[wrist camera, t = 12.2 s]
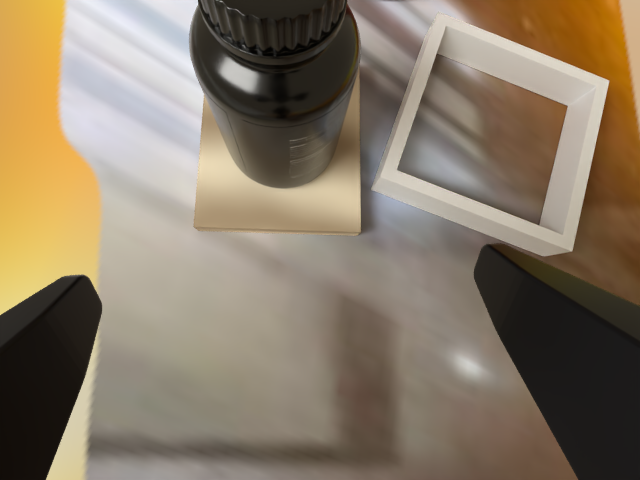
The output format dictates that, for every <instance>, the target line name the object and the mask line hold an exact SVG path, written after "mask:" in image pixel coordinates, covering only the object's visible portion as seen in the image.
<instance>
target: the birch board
mask: <svg viewBox="0 0 640 480" xmlns="http://www.w3.org/2000/svg"><path fill="white" fill-rule="evenodd" d="M194 227H195V228H196V229H197V230H198V231H220V232H253V233H285V234H317V235H350V236H357V235H358V234H359V233H360V232H361V207H360V80H359V69H358V73H357V77H356V80H355V84H354V88H353V91H352V95H351V98H350V102H349V105H348V109H347V113H346V116H345V120H344V123H343V127H342V130H341V134H340V137H339V141H338V145H337V148H336V151H335V154H334V156H333V158H332V160H331V162H330V164H329V165H328V167H327V168H326V169H325V171H324V172H323V173H322V174H321V175H319V176H318V177H317V178H316V179H314V180H312V181H311V182H309V183H307V184H304V185H302V186H299V187H294V188H288V189H279V188H271V187H267V186H264V185H261V184H259V183H257V182H255V181H253V180H252V179H250V178H249V177H247V176H246V175H245V174H244V173H243V172H242V171H241V170H240V169H239V168H238V167H237V165H236V164H235V162H234V161H233V159H232V157H231V155H230V153H229V151H228V149H227V147H226V144H225V142H224V140H223V137H222V135H221V133H220V130H219V128H218V125H217V123H216V121H215V118H214V116H213V114H212V111H211V109H210V107H209V104H208V102H207V100H206V97H205V95H204V103H203V115H202V128H201V140H200V153H199V165H198V178H197V191H196V203H195V216H194Z"/></svg>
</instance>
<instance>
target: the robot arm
mask: <svg viewBox="0 0 640 480" xmlns="http://www.w3.org/2000/svg"><path fill="white" fill-rule="evenodd" d="M474 279H475V282H476V284H477V287H478V289H479V291H480V294H481V296H482V298H483V301H484V303H485V306H486V308H487V310H488V313H489V315H490V317H491V320H492V322H493V324H494V327H495V329H496V331H497V333H498V335H499V337H500V339H501V341H502V343H503V345H504V346H505V348H506V350H507V352H508V354H509V355H510V357H511V359H512V361H513V363H514V364H515V366H516V368H517V370H518V372H519V373H520V375H521V377H522V379H523V381H524V382H525V384H526V386H527V388H528V390H529V391H530V393H531V395H532V397H533V399H534V400H535V402H536V404H537V406H538V408H539V410H540V411H541V413H542V415H543V417H544V419H545V420H546V422H547V424H548V426H549V428H550V429H551V431H552V433H553V435H554V437H555V438H556V440H557V442H558V444H559V446H560V447H561V449H562V451H563V453H564V455H565V456H566V458H567V460H568V462H569V464H570V465H571V467H572V469H573V471H574V473H575V474H576V476H577V478H578V480H640V306H638V305H636V304H634V303H632V302H630V301H628V300H625V299H623V298H621V297H619V296H617V295H614V294H612V293H610V292H608V291H606V290H604V289H601V288H599V287H597V286H595V285H593V284H590V283H588V282H586V281H584V280H582V279H579V278H577V277H575V276H573V275H571V274H569V273H566V272H564V271H562V270H560V269H558V268H555V267H553V266H551V265H549V264H547V263H544V262H542V261H540V260H538V259H536V258H534V257H531V256H529V255H527V254H525V253H523V252H520V251H518V250H516V249H514V248H512V247H509V246H507V245H505V244H502V243H494V244H486V245H484V246H483V247H482V249H481V251H480V254H479V257H478V260H477V263H476V266H475V269H474ZM101 314H102V303H101V300H100V298H99V296H98V294H97V292H96V290H95V289H94V286H93V284H92V283H91V281H90V279H89V278H88V277H87V276H85V275H70V276H64V277H61V278H60V279H58V280H56V281H55V282H53V283H51V284H50V285H48V286H47V287H45V288H43V289H42V290H40V291H39V292H37V293H35V294H34V295H32V296H30V297H29V298H27V299H26V300H24V301H22V302H21V303H19V304H18V305H16V306H14V307H13V308H11V309H9V310H8V311H6V312H5V313H3V314H1V315H0V480H46V478H47V475H48V472H49V470H50V467H51V465H52V462H53V460H54V457H55V454H56V452H57V449H58V446H59V444H60V441H61V439H62V436H63V433H64V431H65V428H66V426H67V423H68V420H69V418H70V415H71V413H72V410H73V407H74V405H75V402H76V400H77V397H78V394H79V392H80V389H81V386H82V384H83V381H84V378H85V375H86V371H87V368H88V364H89V360H90V356H91V353H92V349H93V345H94V341H95V337H96V333H97V329H98V326H99V322H100V318H101Z"/></svg>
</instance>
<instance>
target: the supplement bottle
mask: <svg viewBox="0 0 640 480" xmlns="http://www.w3.org/2000/svg"><path fill="white" fill-rule="evenodd" d="M189 49H190V56H191V61H192V64H193V67H194V70H195V73H196V76H197V78H198V81H199V83H200V86H201V88H202V90H203V93H204V95H205V97H206V100H207V102H208V104H209V107H210V109H211V111H212V114H213V116H214V118H215V121H216V123H217V125H218V128H219V130H220V133H221V135H222V137H223V140H224V142H225V144H226V147H227V149H228V151H229V153H230V155H231V157H232V159H233V161H234V162H235V164H236V165H237V167H238V168H239V169H240V170H241V171H242V172H243V173H244V174H245V175H246V176H247V177H249V178H250V179H252V180H253V181H255V182H257V183H259V184H261V185H264V186H267V187H271V188H279V189H288V188H294V187H299V186H302V185H304V184H307V183H309V182H311V181H312V180H314V179H316V178H317V177H318V176H319V175H321V174H322V173H323V172H324V171H325V169H326V168H327V167H328V165H329V164H330V162H331V160H332V158H333V156H334V154H335V151H336V148H337V145H338V141H339V137H340V134H341V130H342V127H343V123H344V120H345V116H346V113H347V109H348V105H349V102H350V98H351V95H352V91H353V88H354V84H355V80H356V77H357V73H358V69H359V63H360V57H361V42H360V35H359V30H358V27H357V23H356V20H355V18H354V16H353V13H352V11H351V9H350V8H349V6H348V4H347V0H198V6H197V8H196V10H195V13H194V15H193V19H192V22H191V27H190V33H189Z"/></svg>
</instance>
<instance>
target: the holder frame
mask: <svg viewBox="0 0 640 480" xmlns="http://www.w3.org/2000/svg"><path fill="white" fill-rule="evenodd" d="M436 54H440V55H442V56H445V57H447V58H450V59H452V60H455V61H457V62H460V63H462V64H465V65H467V66H470V67H472V68H475V69H477V70H480V71H482V72H485V73H487V74H490V75H492V76H495V77H497V78H500V79H502V80H505V81H507V82H510V83H512V84H515V85H517V86H520V87H522V88H525V89H527V90H530V91H532V92H535V93H537V94H540V95H542V96H545V97H547V98H550V99H552V100H555V101H557V102H559V103H562V104H564V105H567V106H568V108H567V112H566V116H565V120H564V124H563V128H562V133H561V137H560V141H559V145H558V149H557V153H556V157H555V162H554V166H553V170H552V174H551V178H550V182H549V186H548V191H547V195H546V199H545V203H544V207H543V211H542V215H541V220H540V224H539V225H536V224H534V223H531V222H528V221H526V220H523V219H521V218H518V217H516V216H513V215H511V214H508V213H505V212H503V211H500V210H498V209H495V208H493V207H490V206H487V205H485V204H482V203H480V202H477V201H475V200H472V199H469V198H467V197H464V196H462V195H459V194H457V193H454V192H452V191H449V190H446V189H444V188H441V187H439V186H436V185H434V184H431V183H428V182H426V181H423V180H421V179H418V178H416V177H413V176H410V175H408V174H405V173H403V172H400V171H398V170H397V167H398V165H399V162H400V159H401V156H402V153H403V150H404V147H405V144H406V141H407V138H408V135H409V132H410V130H411V127H412V124H413V121H414V118H415V115H416V112H417V109H418V106H419V103H420V100H421V97H422V95H423V92H424V89H425V86H426V83H427V80H428V77H429V74H430V71H431V68H432V65H433V62H434V60H435V57H436ZM608 85H609V80H606V79H604V78H601V77H599V76H597V75H594V74H592V73H589V72H587V71H584V70H582V69H579V68H577V67H574V66H572V65H569V64H567V63H564V62H562V61H559V60H557V59H554V58H552V57H550V56H547V55H545V54H542V53H540V52H537V51H535V50H532V49H530V48H527V47H525V46H522V45H520V44H517V43H515V42H512V41H510V40H507V39H505V38H502V37H500V36H498V35H495V34H493V33H490V32H488V31H485V30H483V29H480V28H478V27H475V26H473V25H470V24H468V23H465V22H463V21H460V20H458V19H455V18H453V17H451V16H448V15H446V14H443V13H441V12H438V13H437V15H436V17H435V19H434V21H433V23H432V25H431V27H430V29H429V31H428V32H427V34H426V36H425V38H424V41H423V44H422V47H421V49H420V52H419V55H418V58H417V61H416V63H415V66H414V69H413V72H412V75H411V77H410V80H409V83H408V86H407V89H406V92H405V94H404V97H403V100H402V103H401V106H400V108H399V111H398V114H397V117H396V120H395V123H394V125H393V128H392V131H391V134H390V137H389V139H388V142H387V145H386V148H385V151H384V154H383V156H382V159H381V162H380V165H379V168H378V170H377V173H376V176H375V179H374V182H373V185H372V187H371V190H373V191H375V192H378V193H381V194H383V195H386V196H388V197H391V198H393V199H396V200H399V201H401V202H404V203H406V204H409V205H412V206H414V207H417V208H419V209H422V210H424V211H427V212H430V213H432V214H435V215H437V216H440V217H442V218H445V219H448V220H450V221H453V222H455V223H458V224H461V225H463V226H466V227H468V228H471V229H473V230H476V231H479V232H481V233H484V234H486V235H489V236H492V237H494V238H497V239H499V240H502V241H504V242H507V243H510V244H512V245H515V246H517V247H520V248H523V249H525V250H528V251H530V252H533V253H535V254H538V255H541V256H543V257H544V256H550V255H555V254H561V253H567V252H572V250H573V246H574V241H575V237H576V232H577V227H578V223H579V218H580V214H581V209H582V204H583V200H584V195H585V191H586V186H587V181H588V177H589V172H590V168H591V163H592V158H593V154H594V149H595V144H596V140H597V135H598V131H599V126H600V121H601V117H602V112H603V108H604V103H605V98H606V94H607V89H608Z"/></svg>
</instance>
